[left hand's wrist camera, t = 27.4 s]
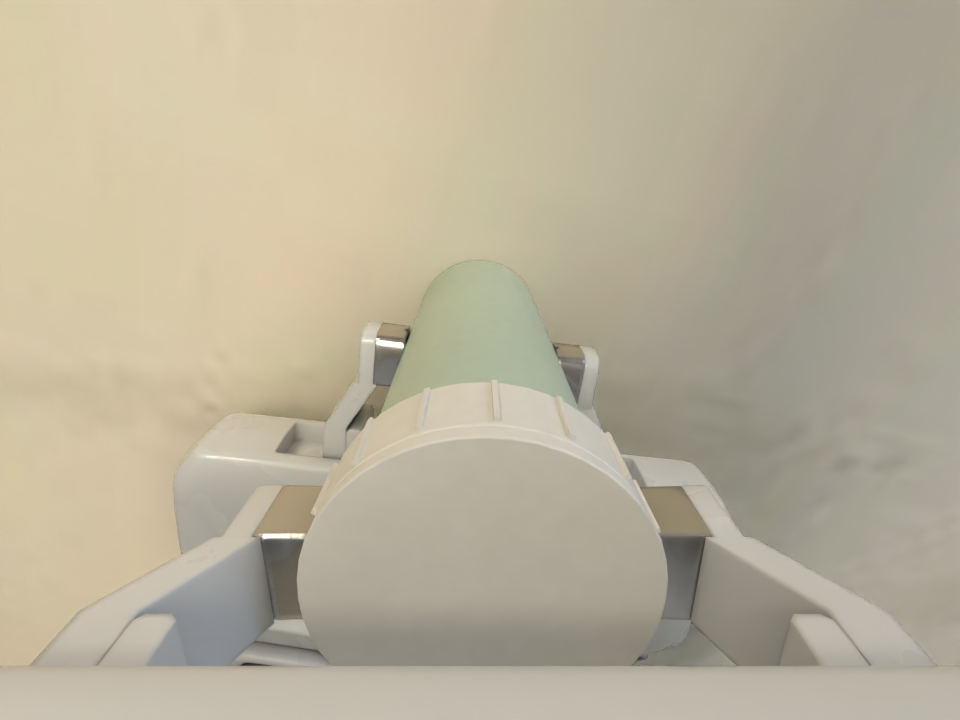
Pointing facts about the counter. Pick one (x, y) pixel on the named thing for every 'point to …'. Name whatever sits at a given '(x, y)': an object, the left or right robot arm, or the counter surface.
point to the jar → (478, 336)
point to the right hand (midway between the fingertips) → (480, 338)
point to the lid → (482, 539)
